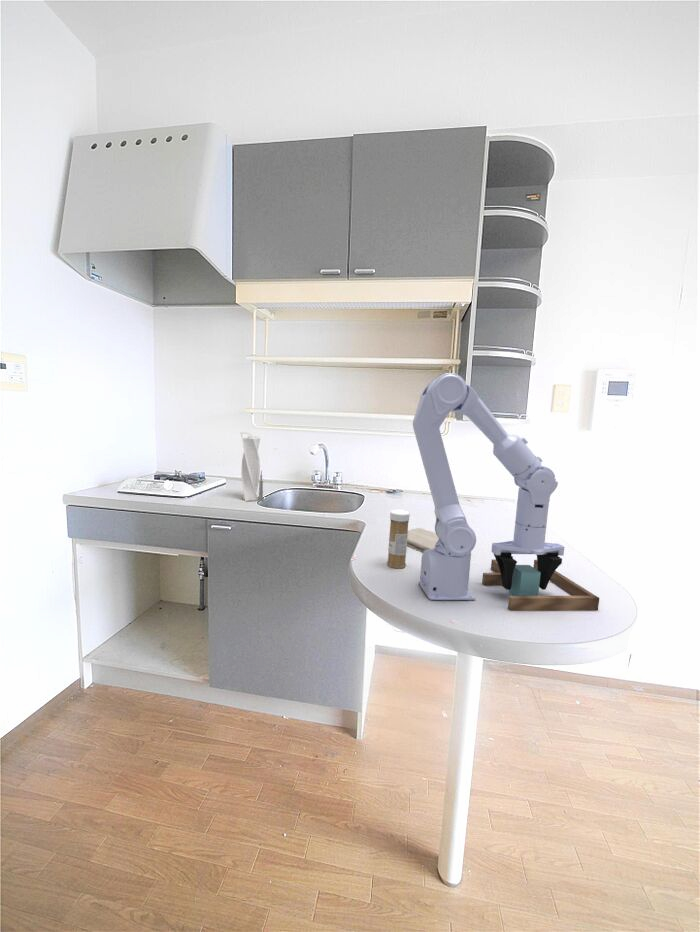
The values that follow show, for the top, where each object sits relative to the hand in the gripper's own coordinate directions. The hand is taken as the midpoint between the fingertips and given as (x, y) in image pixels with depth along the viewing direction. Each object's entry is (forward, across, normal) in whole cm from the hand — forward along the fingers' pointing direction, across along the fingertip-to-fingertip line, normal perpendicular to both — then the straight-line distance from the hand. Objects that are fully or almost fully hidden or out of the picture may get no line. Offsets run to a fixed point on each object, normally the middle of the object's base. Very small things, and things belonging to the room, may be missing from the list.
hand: (523, 587), depth 78 cm
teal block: (+2, 0, 0) cm, 2 cm away
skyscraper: (+2, -68, +86) cm, 110 cm away
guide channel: (+2, +3, +4) cm, 5 cm away
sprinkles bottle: (+2, -23, +16) cm, 28 cm away
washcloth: (+2, -11, +32) cm, 34 cm away
